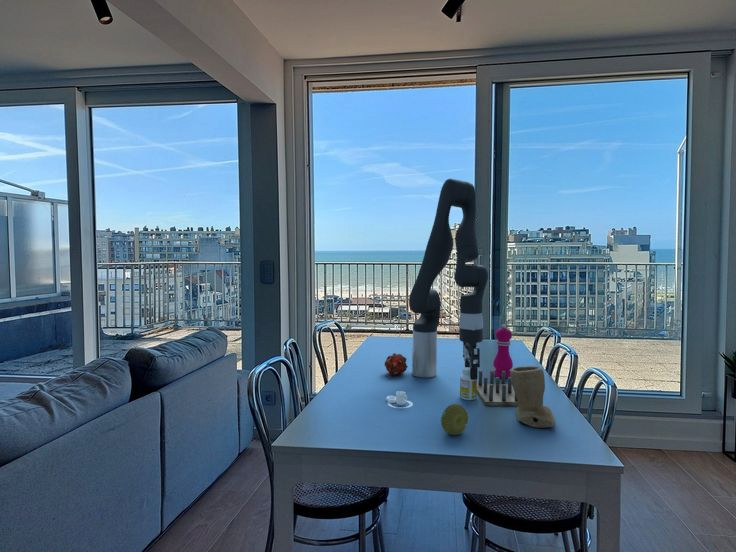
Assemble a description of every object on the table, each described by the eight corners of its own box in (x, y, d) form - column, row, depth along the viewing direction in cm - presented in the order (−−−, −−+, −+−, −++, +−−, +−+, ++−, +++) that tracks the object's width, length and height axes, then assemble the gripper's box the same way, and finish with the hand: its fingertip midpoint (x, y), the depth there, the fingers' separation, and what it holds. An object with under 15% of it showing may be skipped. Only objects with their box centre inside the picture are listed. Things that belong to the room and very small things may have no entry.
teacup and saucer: (382, 401, 145) (382, 389, 145) (405, 399, 148) (405, 386, 148) (393, 411, 137) (393, 398, 137) (417, 408, 140) (417, 395, 140)
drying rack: (485, 405, 141) (485, 385, 141) (473, 387, 159) (474, 370, 159) (537, 406, 141) (537, 386, 140) (519, 387, 159) (520, 370, 158)
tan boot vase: (509, 407, 139) (510, 359, 138) (550, 412, 136) (552, 363, 135) (508, 426, 125) (510, 373, 124) (555, 432, 121) (556, 377, 120)
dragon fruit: (400, 373, 182) (395, 386, 170) (383, 360, 182) (376, 372, 171) (412, 358, 179) (407, 370, 168) (395, 345, 180) (389, 356, 168)
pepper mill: (491, 376, 172) (492, 324, 171) (495, 372, 178) (496, 321, 177) (510, 379, 169) (512, 326, 167) (514, 374, 175) (515, 323, 174)
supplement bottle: (474, 394, 151) (474, 366, 150) (478, 400, 146) (479, 370, 145) (458, 395, 151) (458, 366, 150) (462, 400, 145) (462, 370, 145)
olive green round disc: (461, 428, 123) (461, 399, 123) (471, 433, 120) (471, 404, 119) (437, 434, 120) (438, 404, 119) (447, 440, 116) (447, 409, 115)
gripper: (455, 323, 154) (455, 370, 155) (463, 330, 140) (463, 382, 141) (477, 323, 154) (477, 369, 155) (488, 330, 140) (487, 381, 141)
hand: (470, 375), depth 148 cm, fingers open, 8 cm apart
